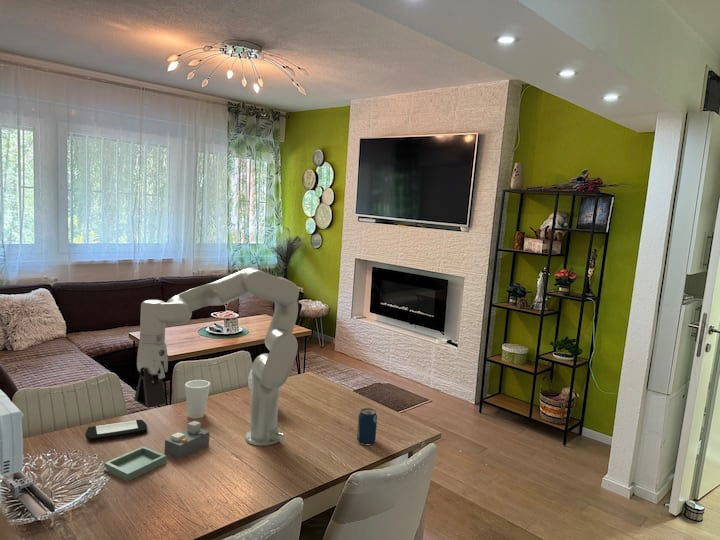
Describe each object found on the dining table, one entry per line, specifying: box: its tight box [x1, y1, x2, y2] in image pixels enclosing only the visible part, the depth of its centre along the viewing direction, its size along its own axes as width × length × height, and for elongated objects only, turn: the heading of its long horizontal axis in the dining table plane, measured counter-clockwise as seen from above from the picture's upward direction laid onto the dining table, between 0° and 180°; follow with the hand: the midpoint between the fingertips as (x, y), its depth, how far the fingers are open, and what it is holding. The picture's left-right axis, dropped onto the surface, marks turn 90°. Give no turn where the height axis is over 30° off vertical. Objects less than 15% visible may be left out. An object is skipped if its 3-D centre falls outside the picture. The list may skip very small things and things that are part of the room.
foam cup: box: [184, 379, 211, 419], centre depth 194 cm, size 10×9×13 cm
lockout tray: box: [103, 445, 167, 482], centre depth 154 cm, size 11×14×2 cm
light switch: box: [85, 419, 148, 442], centre depth 176 cm, size 20×3×14 cm
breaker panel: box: [163, 428, 210, 461], centre depth 167 cm, size 7×13×6 cm, turn 152°
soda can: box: [356, 408, 378, 445], centre depth 182 cm, size 7×7×12 cm
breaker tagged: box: [170, 432, 185, 442], centre depth 164 cm, size 3×3×4 cm
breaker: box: [187, 420, 202, 435], centre depth 170 cm, size 3×3×4 cm
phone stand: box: [133, 368, 167, 409], centre depth 159 cm, size 9×6×12 cm, turn 52°
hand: (150, 392), depth 159 cm, fingers closed on phone stand
